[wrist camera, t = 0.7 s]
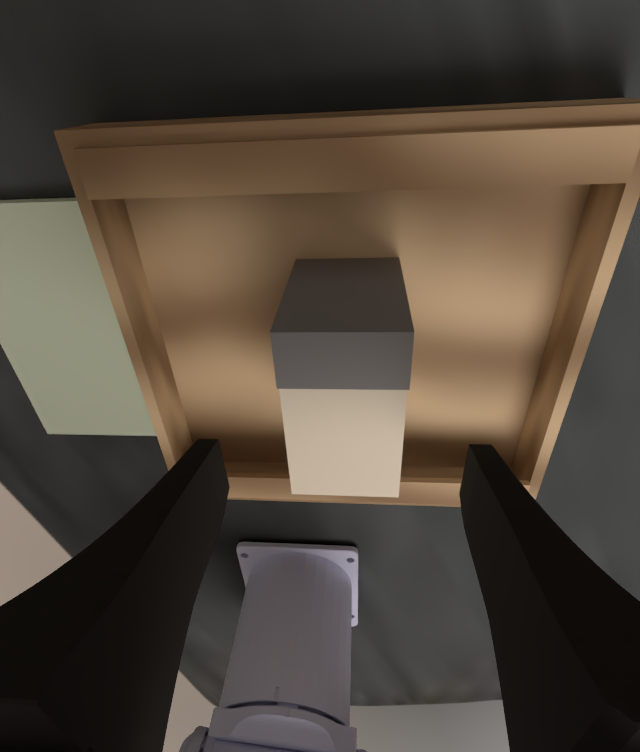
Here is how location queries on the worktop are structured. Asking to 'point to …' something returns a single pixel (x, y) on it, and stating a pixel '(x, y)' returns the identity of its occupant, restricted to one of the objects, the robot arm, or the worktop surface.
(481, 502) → the robot arm
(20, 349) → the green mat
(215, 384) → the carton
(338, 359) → the box
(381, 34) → the worktop surface
